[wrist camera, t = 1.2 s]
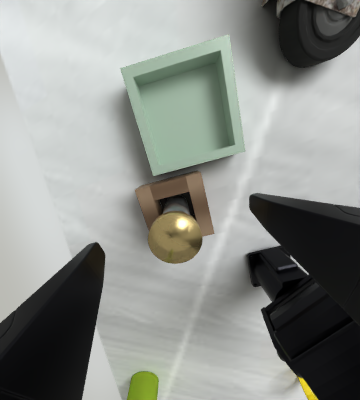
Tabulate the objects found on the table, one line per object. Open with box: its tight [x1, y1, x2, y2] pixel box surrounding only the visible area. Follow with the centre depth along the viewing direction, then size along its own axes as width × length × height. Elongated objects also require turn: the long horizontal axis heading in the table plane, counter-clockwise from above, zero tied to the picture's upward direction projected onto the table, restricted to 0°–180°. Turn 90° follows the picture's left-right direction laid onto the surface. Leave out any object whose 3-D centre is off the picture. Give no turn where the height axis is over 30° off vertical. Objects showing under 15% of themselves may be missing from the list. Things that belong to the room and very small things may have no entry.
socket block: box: [135, 171, 214, 236], centre depth 20 cm, size 8×8×4 cm
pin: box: [148, 194, 202, 264], centre depth 17 cm, size 4×4×10 cm
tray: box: [120, 34, 245, 176], centre depth 17 cm, size 11×11×3 cm
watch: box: [298, 377, 318, 400], centre depth 29 cm, size 6×3×6 cm, turn 14°
